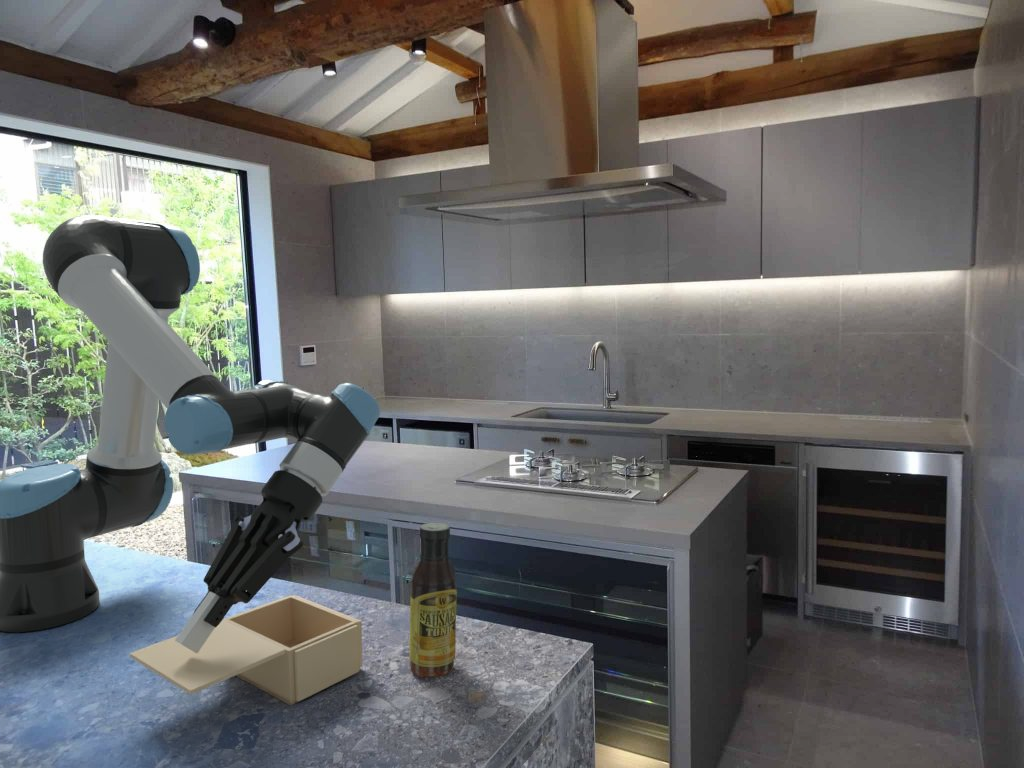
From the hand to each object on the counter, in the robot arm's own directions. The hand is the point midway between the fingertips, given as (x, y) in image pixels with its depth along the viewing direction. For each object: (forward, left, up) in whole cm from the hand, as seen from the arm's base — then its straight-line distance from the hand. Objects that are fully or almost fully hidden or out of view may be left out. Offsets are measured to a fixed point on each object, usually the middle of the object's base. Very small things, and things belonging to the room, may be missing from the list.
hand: (186, 646), depth 86 cm
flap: (0, +9, -2) cm, 9 cm away
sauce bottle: (+15, +26, -9) cm, 32 cm away
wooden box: (0, +14, -9) cm, 17 cm away
